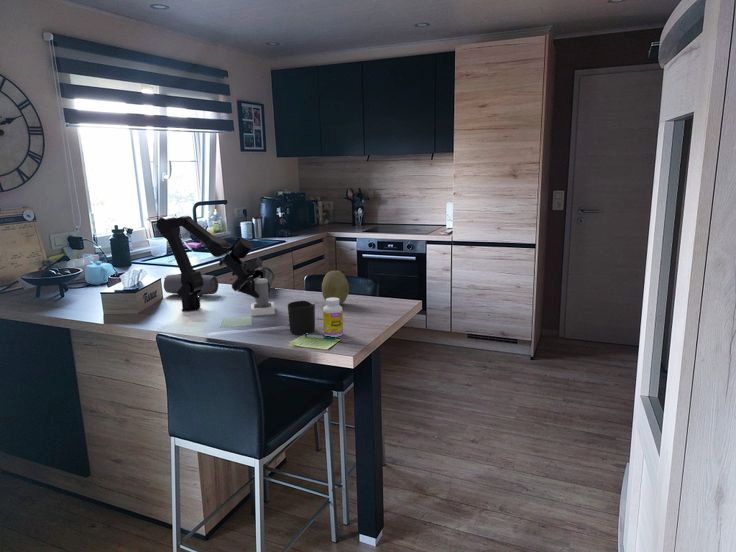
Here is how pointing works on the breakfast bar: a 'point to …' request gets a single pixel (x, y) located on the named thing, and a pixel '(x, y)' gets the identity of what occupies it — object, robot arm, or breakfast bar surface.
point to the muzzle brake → (266, 276)
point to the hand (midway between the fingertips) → (264, 294)
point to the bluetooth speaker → (174, 284)
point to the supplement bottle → (333, 318)
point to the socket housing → (262, 309)
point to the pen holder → (301, 317)
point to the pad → (236, 322)
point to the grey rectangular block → (262, 293)
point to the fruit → (335, 286)
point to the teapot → (98, 272)
